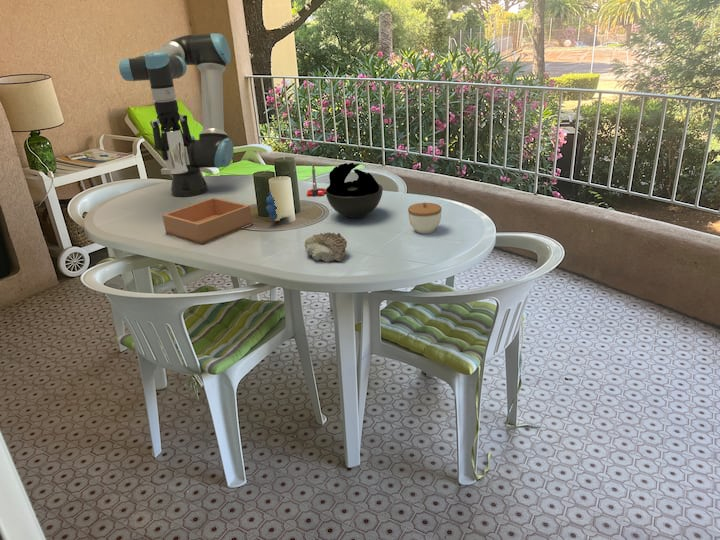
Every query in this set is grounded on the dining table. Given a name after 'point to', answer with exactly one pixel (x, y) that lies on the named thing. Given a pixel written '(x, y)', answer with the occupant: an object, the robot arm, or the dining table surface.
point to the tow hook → (315, 186)
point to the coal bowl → (353, 192)
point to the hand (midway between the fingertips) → (178, 166)
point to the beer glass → (176, 151)
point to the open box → (207, 220)
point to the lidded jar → (424, 217)
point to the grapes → (271, 207)
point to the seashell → (326, 246)
